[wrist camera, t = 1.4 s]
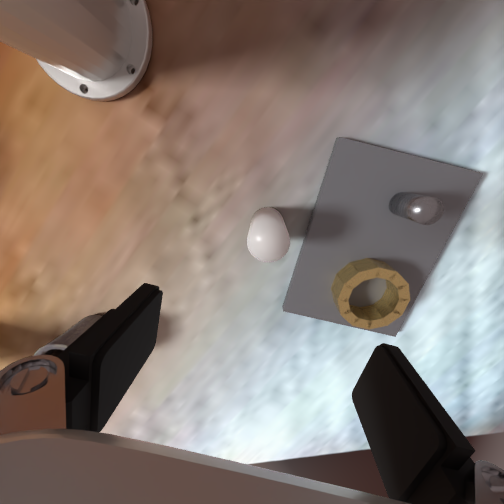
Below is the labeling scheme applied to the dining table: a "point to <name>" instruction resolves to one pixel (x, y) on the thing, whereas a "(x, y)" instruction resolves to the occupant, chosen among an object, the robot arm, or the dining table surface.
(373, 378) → the robot arm
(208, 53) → the dining table surface
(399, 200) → the small stub
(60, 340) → the grey mug
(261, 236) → the white rounded peg
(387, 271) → the brass socket
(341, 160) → the fitting board
